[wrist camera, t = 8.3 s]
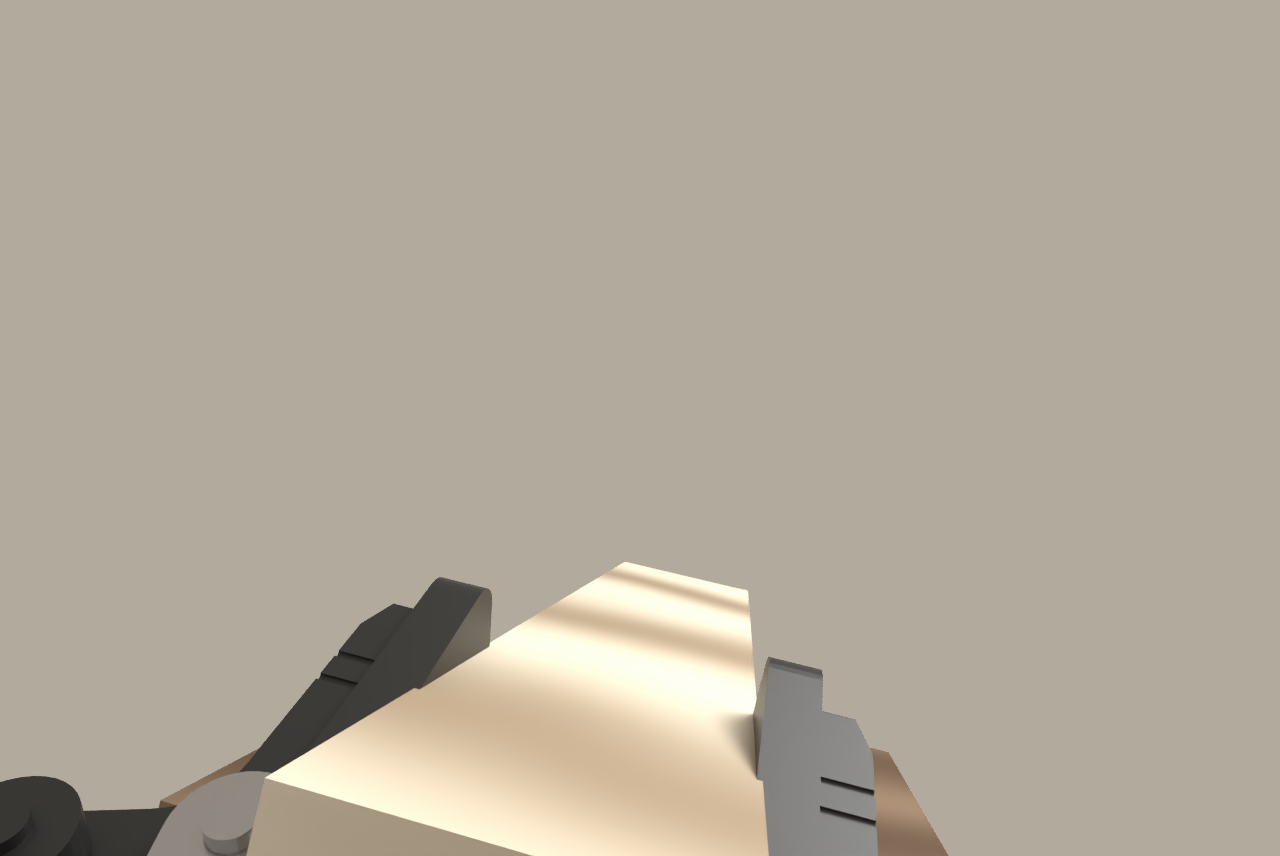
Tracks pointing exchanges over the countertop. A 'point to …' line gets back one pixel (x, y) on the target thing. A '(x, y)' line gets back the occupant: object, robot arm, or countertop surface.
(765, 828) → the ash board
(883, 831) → the walnut stand
